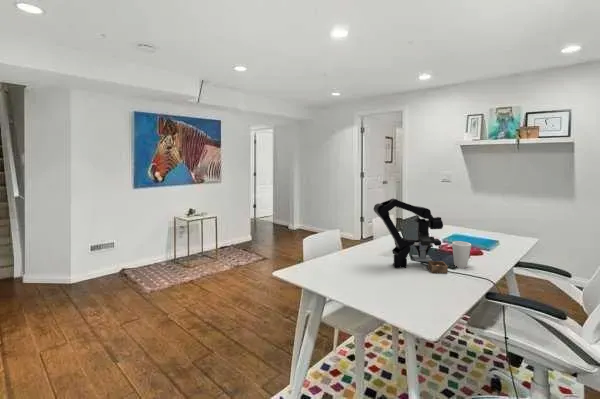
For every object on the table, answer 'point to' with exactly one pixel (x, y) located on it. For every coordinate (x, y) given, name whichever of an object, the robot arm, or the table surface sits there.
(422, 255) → the lid
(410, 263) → the table surface
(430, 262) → the walnut box
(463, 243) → the foam cup
